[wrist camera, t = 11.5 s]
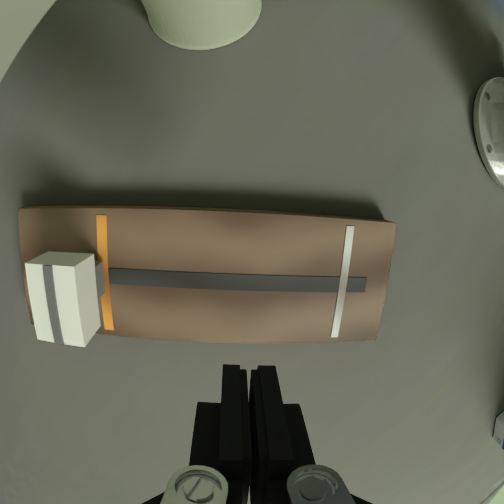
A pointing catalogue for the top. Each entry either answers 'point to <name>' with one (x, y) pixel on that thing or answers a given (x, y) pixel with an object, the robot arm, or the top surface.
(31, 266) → the fader knob
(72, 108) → the top surface
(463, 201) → the top surface
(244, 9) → the can
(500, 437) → the string lights box
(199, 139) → the top surface
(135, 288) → the fader console
